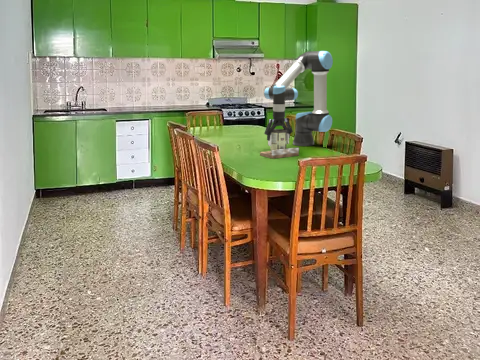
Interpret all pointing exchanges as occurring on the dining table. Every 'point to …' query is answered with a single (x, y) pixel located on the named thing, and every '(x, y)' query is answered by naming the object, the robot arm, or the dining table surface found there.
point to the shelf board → (281, 153)
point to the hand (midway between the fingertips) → (278, 144)
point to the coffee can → (278, 139)
